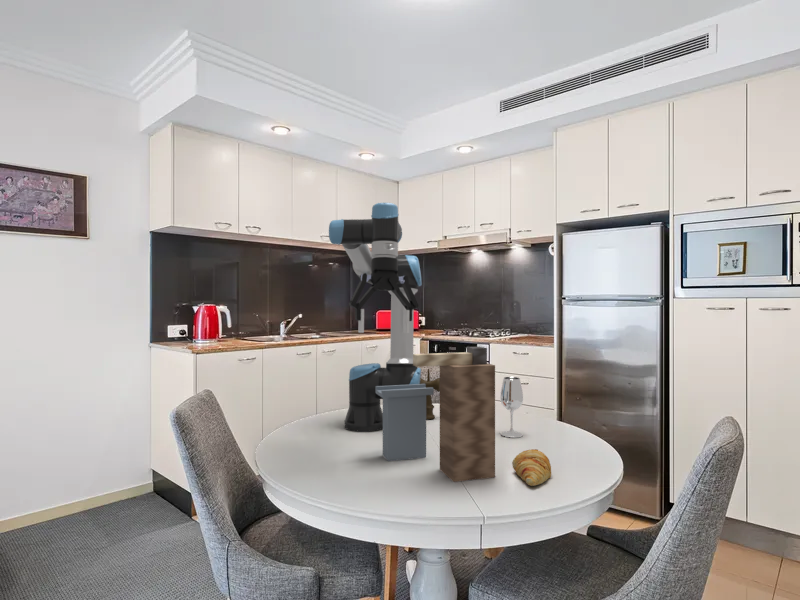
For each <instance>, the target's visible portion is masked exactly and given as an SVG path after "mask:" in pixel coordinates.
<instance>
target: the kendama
mask: <svg viewBox="0 0 800 600" xmlns="http://www.w3.org/2000/svg"><path fill="white" fill-rule="evenodd" d="M420 384H426V388H434V391H436V392H439V393H440V377H437V378H435V379H434V380H431V378H430V368H427V380H425V379H423V378H422V377H421V378H420ZM434 409H435V405H434V404H433V400H432V395H426V420H433V419H435V418H436V416H435V414H434Z"/></svg>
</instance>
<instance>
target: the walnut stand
mask: <svg viewBox="0 0 800 600" xmlns="http://www.w3.org/2000/svg"><path fill="white" fill-rule="evenodd" d="M439 378H440V392H439V470H440V471H441V472H442V473H443V474H444V475H445V476H447V478H449V479H450V480H451V482H454V483H458V482H465V481H474V480H484V479H491V478H495V477H496V365H495V364H492V363H489V362H487V364H479V365H473V364H471V365H447V366H439Z"/></svg>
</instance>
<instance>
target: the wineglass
mask: <svg viewBox="0 0 800 600" xmlns="http://www.w3.org/2000/svg"><path fill="white" fill-rule="evenodd" d="M521 382H522V381H521V378H519V377H517V376H505V377H503V379H502V383H501V384H502V385H501V389H500V403H501V405H502V406H503V408H504V409H506V410H508V411H509V413H510V414H509V415H510V429H509V431H507V430H506V431H502V432H500V435H501V436H502V437H504V436H505V438H509V437H510V438H512V439H516V438H521V437H523V433H522V432H519V431H515V430H514V427H513V425H514V423H513V422H514V421H513V420H514V412H515V411H517V410H519V409H520V408H521V406H522V404H523V402H524V393H523V389H522V383H521Z"/></svg>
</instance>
